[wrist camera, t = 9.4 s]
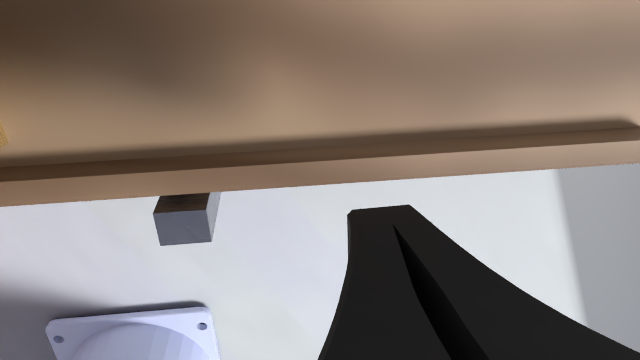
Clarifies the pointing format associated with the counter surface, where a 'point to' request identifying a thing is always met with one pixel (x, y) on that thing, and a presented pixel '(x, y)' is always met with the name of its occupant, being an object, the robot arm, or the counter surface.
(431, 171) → the beam
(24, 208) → the counter surface
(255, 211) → the counter surface
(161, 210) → the stand
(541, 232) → the counter surface
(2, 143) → the block
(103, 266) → the counter surface
